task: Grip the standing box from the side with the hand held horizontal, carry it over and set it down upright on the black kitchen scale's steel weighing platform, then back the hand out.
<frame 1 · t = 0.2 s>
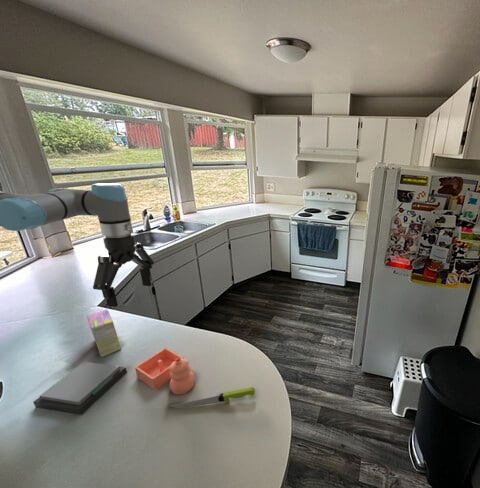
hand: (131, 294, 84), 20 cm above the table, tool pointing down, fingers open, 13 cm apart
scale: (85, 388, 73), on the table
kitchen knife: (214, 404, 70), on the table
box: (108, 346, 89), on the table
pottery: (171, 378, 77), on the table
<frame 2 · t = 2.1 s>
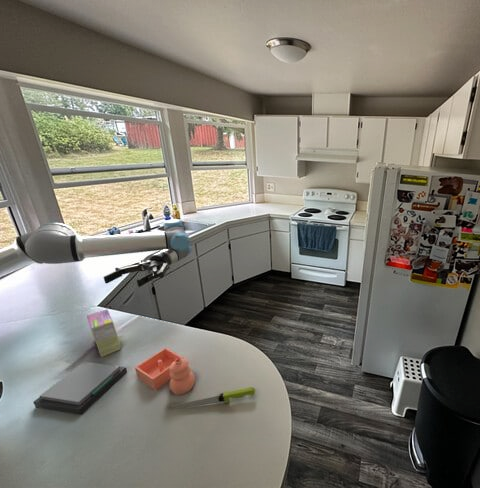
hand: (121, 281, 92), 20 cm above the table, tool horizontal, fingers open, 13 cm apart
nothing on the table moved.
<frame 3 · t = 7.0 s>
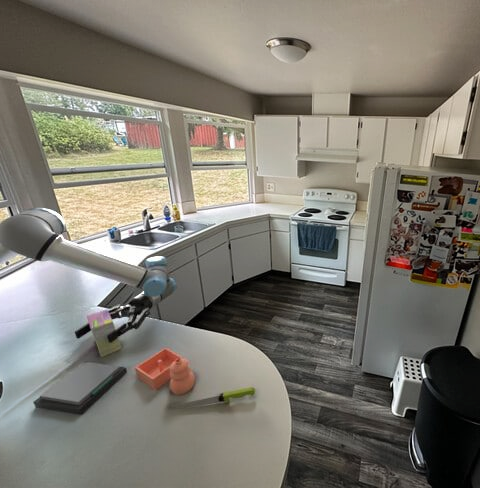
hand: (92, 337, 83), 7 cm above the table, tool horizontal, fingers closed on box, 11 cm apart
box: (108, 346, 89), on the table, touching gripper
everything else where it was.
when the fingers open (10 cm above the table, at t = 14.8 s): box stays where it is, resting on scale.
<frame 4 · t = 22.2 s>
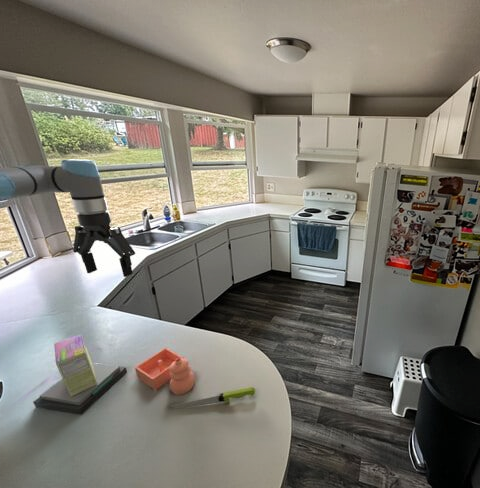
hand: (110, 273, 85), 27 cm above the table, tool pointing down, fingers open, 13 cm apart
box: (82, 380, 72), point 3 cm above the table, touching scale
everything else where it was.
at the end: box inside the target area on the scale (0.0 cm from its centre), point 3.0 cm above the scale's base; box tilted 0°; the gripper is holding nothing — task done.
